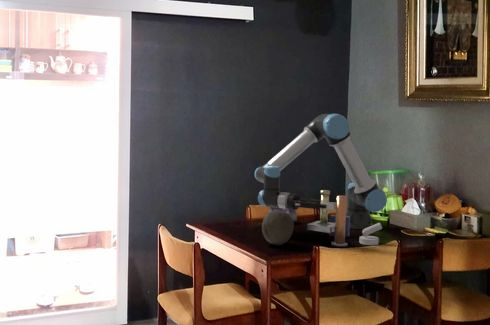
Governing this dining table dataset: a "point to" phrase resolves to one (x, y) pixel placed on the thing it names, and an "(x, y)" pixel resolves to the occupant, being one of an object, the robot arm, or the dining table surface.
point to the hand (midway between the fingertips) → (335, 206)
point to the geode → (289, 211)
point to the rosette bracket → (334, 227)
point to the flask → (347, 225)
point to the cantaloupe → (277, 227)
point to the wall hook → (370, 239)
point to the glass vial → (324, 212)
